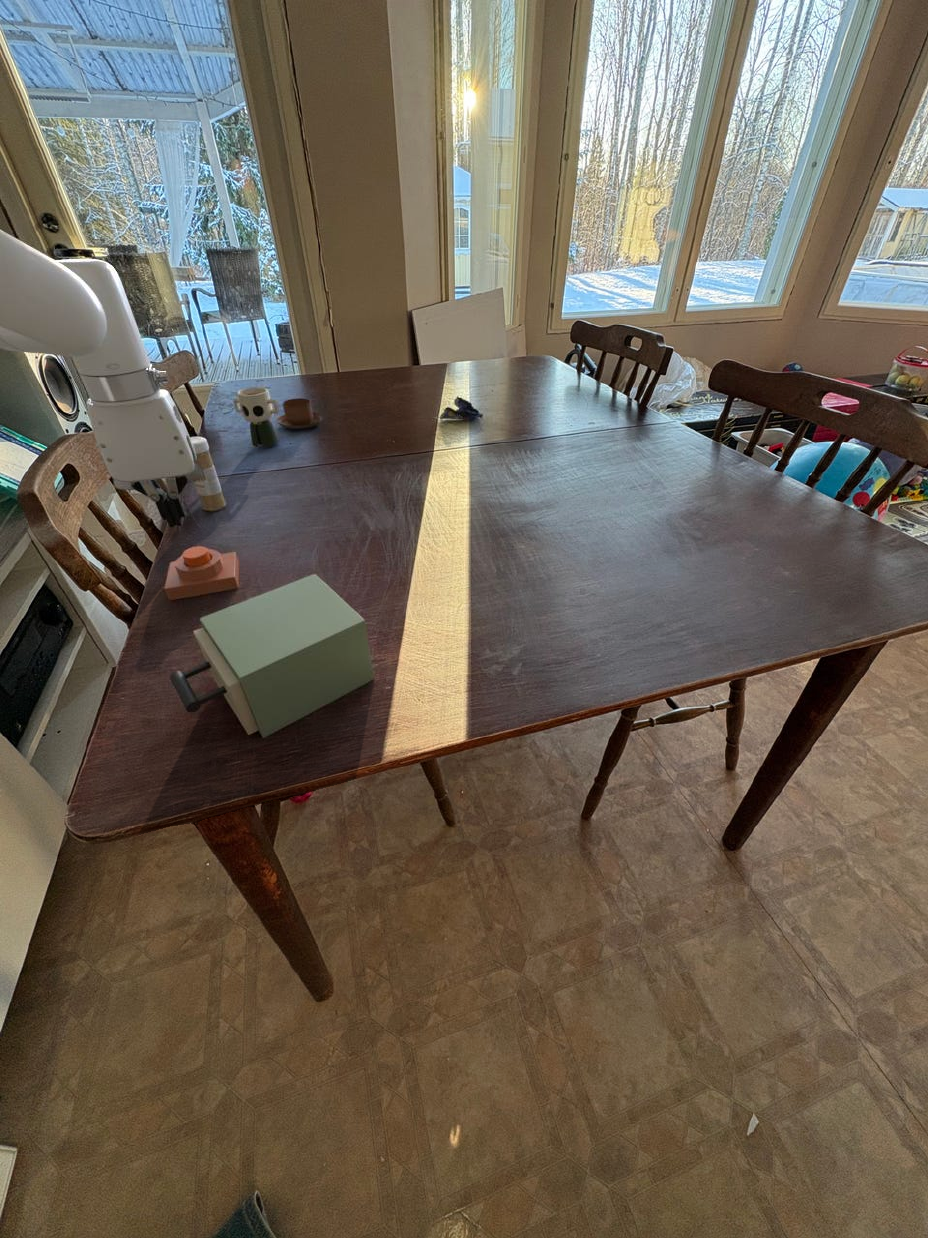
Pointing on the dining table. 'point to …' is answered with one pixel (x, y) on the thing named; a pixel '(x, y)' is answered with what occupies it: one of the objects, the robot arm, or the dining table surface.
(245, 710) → the fryer drawer
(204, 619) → the fryer
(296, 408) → the cup and saucer
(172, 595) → the control block
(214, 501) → the sprinkles bottle
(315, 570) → the dining table surface
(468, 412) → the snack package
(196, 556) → the button
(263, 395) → the character mug
